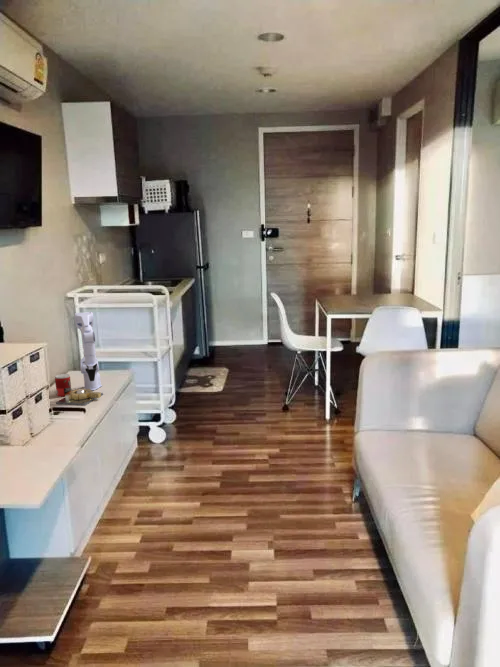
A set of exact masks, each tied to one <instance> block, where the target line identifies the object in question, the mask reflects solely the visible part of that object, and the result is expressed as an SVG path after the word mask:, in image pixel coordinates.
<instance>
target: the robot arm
mask: <svg viewBox="0 0 500 667" xmlns="http://www.w3.org/2000/svg"><path fill="white" fill-rule="evenodd" d="M74 323H75V327H76V329H79V332H80V334H81V341H82V349H83V357H82V358H81V359H80V360H79V369H80V373H81V375H83V382H84V387H83V388H82V389H90V390H91V391H96V390H98V389H99V388H102V387H103V385H102V382H101V374H100V373H99V372H100V367H99V361H98V358H97V352H96V344H95V343H96V333H95V331H94V330H93V327H94V326H93V325H94V313H93V312H92V311H87V312H85V311H83V312H75V313H74Z"/></svg>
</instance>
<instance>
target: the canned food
mask: <svg viewBox="0 0 500 667" xmlns="http://www.w3.org/2000/svg"><path fill="white" fill-rule="evenodd" d="M54 382H55V391H56V396H57V397H60V398H65V395H69V392H71V391H72V383H71V375H70V374H69V373H68V374H67V373H62V374H56V375H55V376H54Z"/></svg>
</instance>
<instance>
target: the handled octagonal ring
mask: <svg viewBox="0 0 500 667" xmlns="http://www.w3.org/2000/svg"><path fill="white" fill-rule="evenodd" d="M77 390H84V392H85V393H81V394H77V392H76V391H77ZM101 393H102V392H100V391H99V392H98V391H93V390H90V389H83V388H80V389H75V390H71V392H69V395H71V399H74V400H80V399H86V398H97V399H99V398H102V396H101Z"/></svg>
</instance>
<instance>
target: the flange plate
mask: <svg viewBox="0 0 500 667" xmlns="http://www.w3.org/2000/svg"><path fill="white" fill-rule="evenodd" d="M76 390H77V391H76V392H77V394H81V393H85V392H84V390H78V389H76ZM103 395H104V393H103V392H101V397H102V396H103ZM97 399H98V398H86V399H80V400H74V399H71V395H65V397H62V398H61V399H59V400H57V401H56V402H55V404H56V405H67V406H68V405H69V406H70V405H72V406H87V405H88V404H90V403H91V402H93V401H95V400H97Z"/></svg>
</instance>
